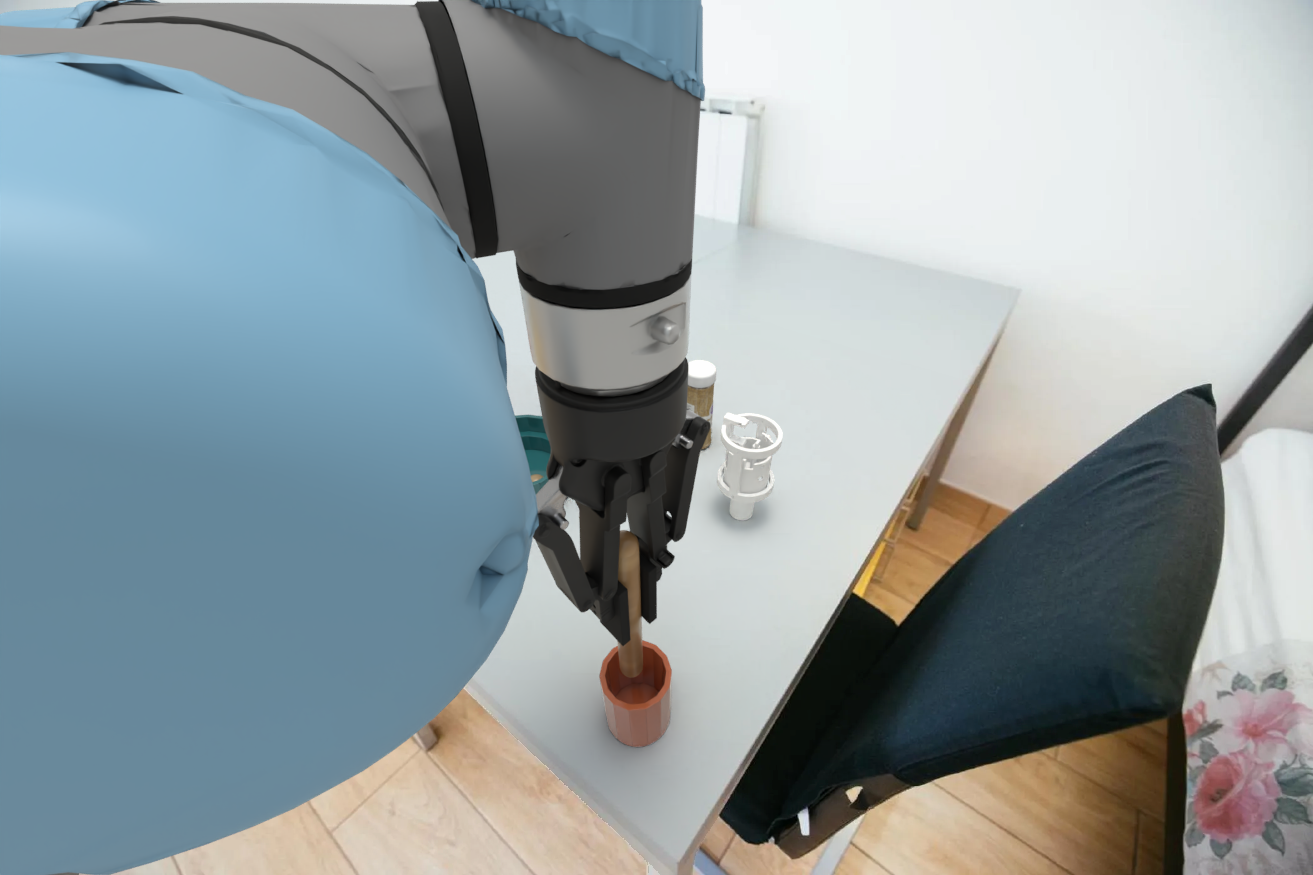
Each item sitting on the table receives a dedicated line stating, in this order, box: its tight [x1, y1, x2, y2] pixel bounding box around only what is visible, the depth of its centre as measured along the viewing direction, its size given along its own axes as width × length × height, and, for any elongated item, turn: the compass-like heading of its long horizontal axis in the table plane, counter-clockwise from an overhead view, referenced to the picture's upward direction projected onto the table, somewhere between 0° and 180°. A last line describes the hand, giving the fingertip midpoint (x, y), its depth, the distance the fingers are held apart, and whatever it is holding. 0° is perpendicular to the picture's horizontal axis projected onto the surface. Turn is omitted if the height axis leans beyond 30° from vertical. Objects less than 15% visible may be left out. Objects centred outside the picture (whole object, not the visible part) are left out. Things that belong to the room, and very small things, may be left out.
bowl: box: [515, 414, 551, 494], centre depth 75 cm, size 15×15×6 cm
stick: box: [616, 529, 643, 678], centre depth 41 cm, size 2×2×18 cm
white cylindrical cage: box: [716, 412, 784, 522], centre depth 67 cm, size 7×7×15 cm
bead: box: [531, 474, 543, 482], centre depth 73 cm, size 3×3×3 cm
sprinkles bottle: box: [687, 359, 717, 451], centre depth 78 cm, size 5×5×14 cm
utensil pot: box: [598, 639, 673, 748], centre depth 50 cm, size 6×6×8 cm
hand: (628, 619), depth 41 cm, fingers closed on stick, 2 cm apart
